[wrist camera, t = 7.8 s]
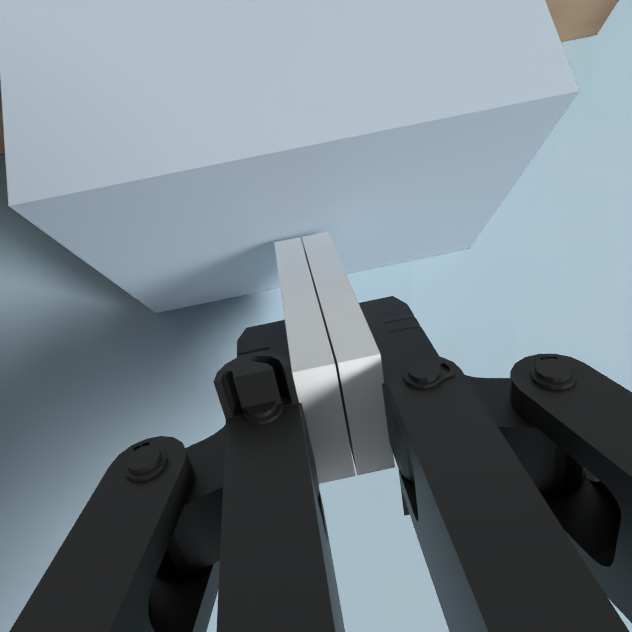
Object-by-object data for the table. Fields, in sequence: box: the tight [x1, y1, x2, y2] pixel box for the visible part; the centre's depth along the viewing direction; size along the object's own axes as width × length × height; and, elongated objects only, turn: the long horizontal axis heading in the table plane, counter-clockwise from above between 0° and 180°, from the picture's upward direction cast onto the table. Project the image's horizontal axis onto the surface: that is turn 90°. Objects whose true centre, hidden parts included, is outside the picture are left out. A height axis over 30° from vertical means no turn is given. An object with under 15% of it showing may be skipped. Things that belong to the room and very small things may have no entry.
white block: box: [0, 0, 580, 313], centre depth 16 cm, size 12×8×9 cm, turn 102°
